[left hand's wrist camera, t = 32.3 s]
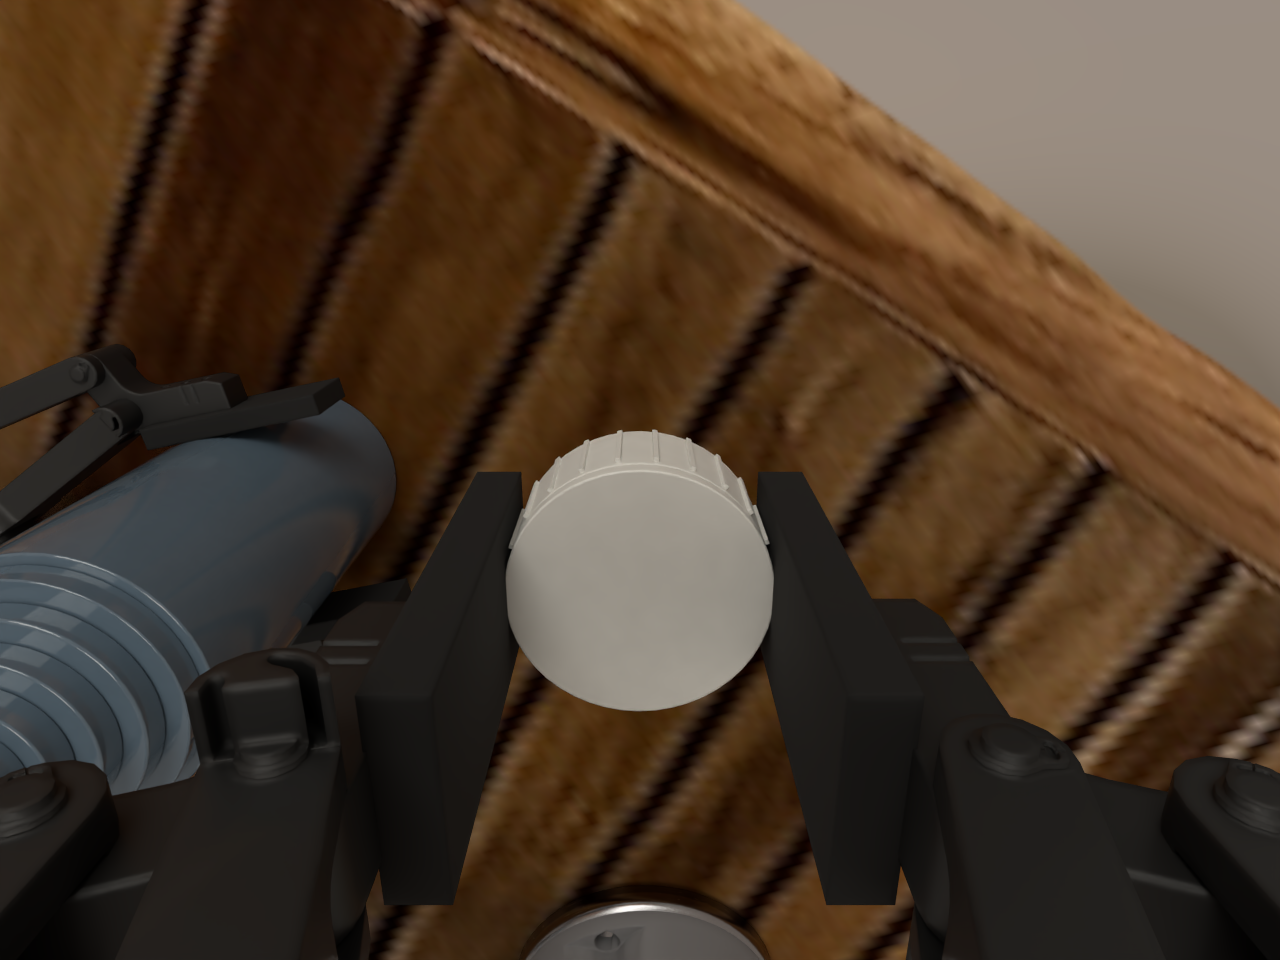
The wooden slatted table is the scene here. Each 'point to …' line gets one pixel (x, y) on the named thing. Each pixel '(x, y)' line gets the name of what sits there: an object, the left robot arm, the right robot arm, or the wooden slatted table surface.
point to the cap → (639, 573)
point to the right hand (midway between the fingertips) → (366, 503)
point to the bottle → (177, 587)
